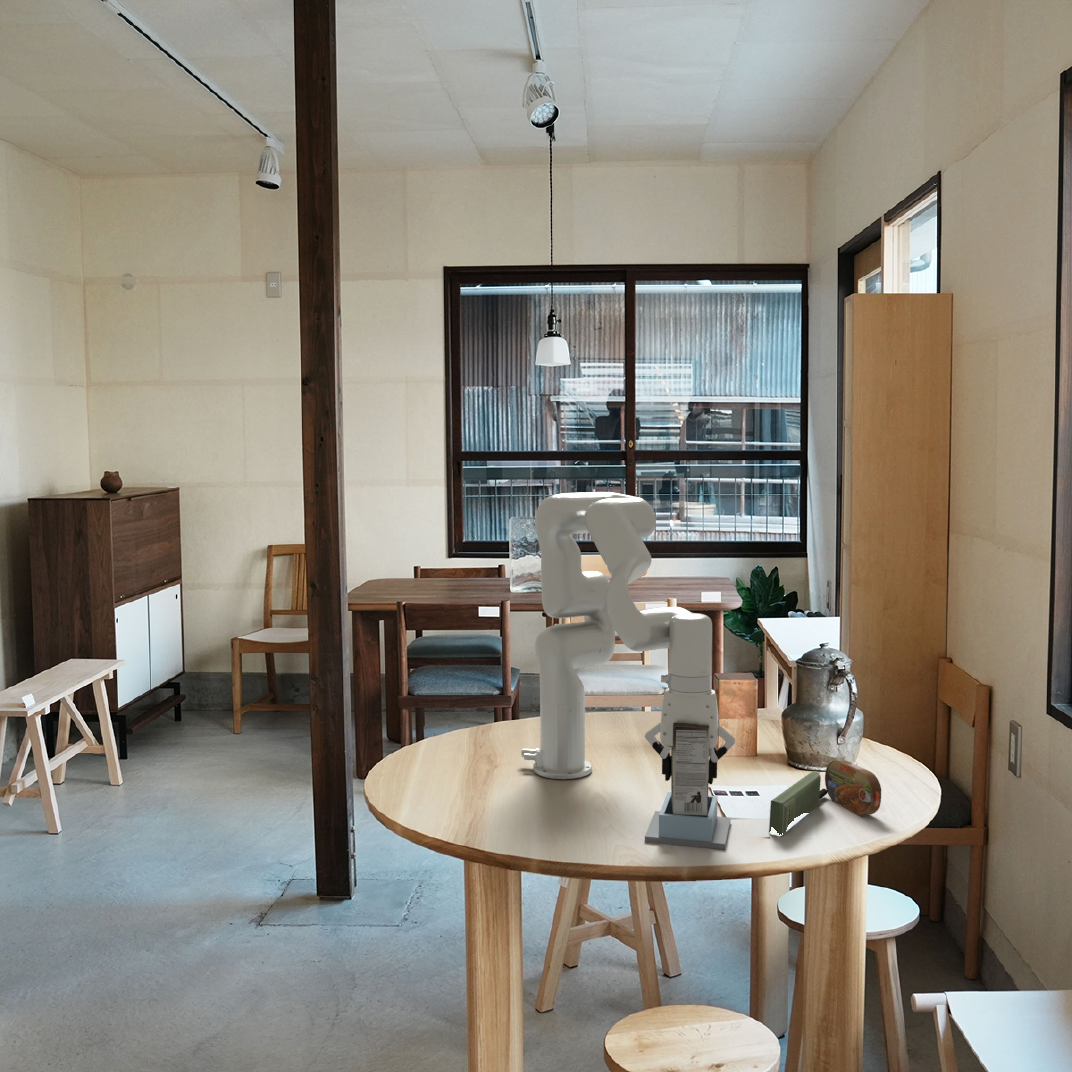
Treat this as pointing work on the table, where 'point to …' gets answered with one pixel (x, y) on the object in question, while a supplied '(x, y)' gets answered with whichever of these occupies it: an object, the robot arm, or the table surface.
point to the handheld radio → (796, 802)
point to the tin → (853, 787)
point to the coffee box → (690, 769)
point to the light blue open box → (689, 827)
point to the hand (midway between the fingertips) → (689, 779)
